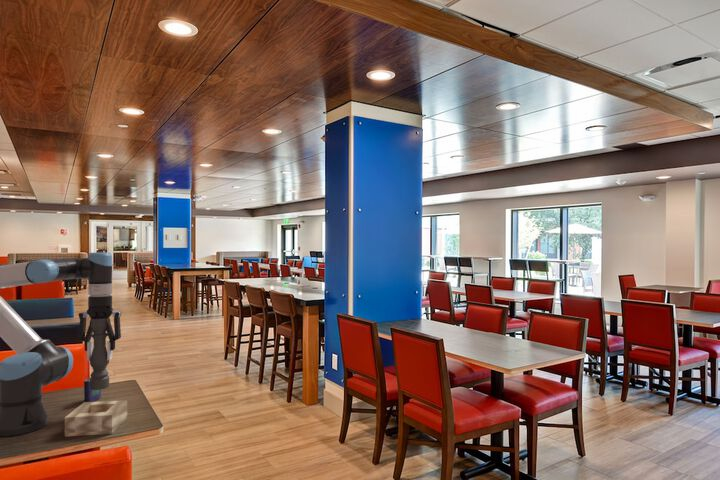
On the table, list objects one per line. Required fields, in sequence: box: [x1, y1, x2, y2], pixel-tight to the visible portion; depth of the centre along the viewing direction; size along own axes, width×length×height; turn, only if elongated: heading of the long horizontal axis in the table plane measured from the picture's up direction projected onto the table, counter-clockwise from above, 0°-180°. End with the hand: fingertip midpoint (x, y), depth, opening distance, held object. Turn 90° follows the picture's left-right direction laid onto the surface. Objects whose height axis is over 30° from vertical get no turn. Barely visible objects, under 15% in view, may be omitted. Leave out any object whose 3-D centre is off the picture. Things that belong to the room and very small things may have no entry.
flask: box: [83, 377, 102, 403], centre depth 180 cm, size 9×3×11 cm, turn 1°
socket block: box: [64, 399, 128, 437], centre depth 155 cm, size 14×14×6 cm
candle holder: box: [89, 317, 110, 391], centre depth 167 cm, size 6×6×25 cm
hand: (99, 359), depth 167 cm, fingers closed on candle holder, 6 cm apart
